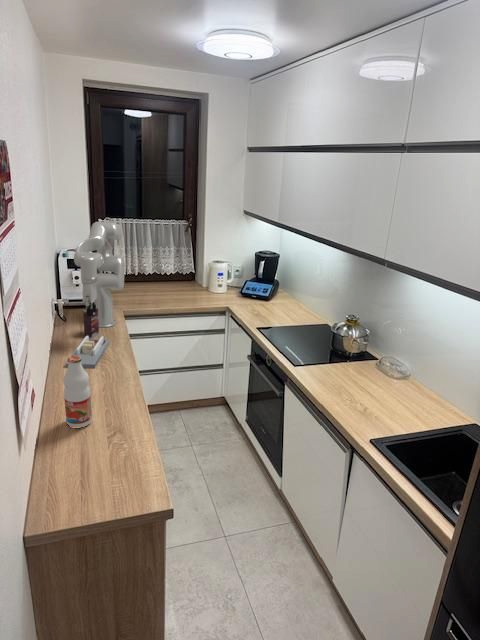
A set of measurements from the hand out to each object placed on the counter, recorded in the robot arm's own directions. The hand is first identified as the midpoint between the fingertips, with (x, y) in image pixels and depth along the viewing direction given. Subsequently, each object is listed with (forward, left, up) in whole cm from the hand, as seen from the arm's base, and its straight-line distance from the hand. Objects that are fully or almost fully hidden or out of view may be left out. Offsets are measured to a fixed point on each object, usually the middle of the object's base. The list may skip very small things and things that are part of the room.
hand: (91, 313), depth 229 cm
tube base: (+8, 0, -19) cm, 21 cm away
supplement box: (-16, -5, -20) cm, 26 cm away
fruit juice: (+70, +13, -20) cm, 74 cm away
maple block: (+9, 0, -17) cm, 20 cm away
